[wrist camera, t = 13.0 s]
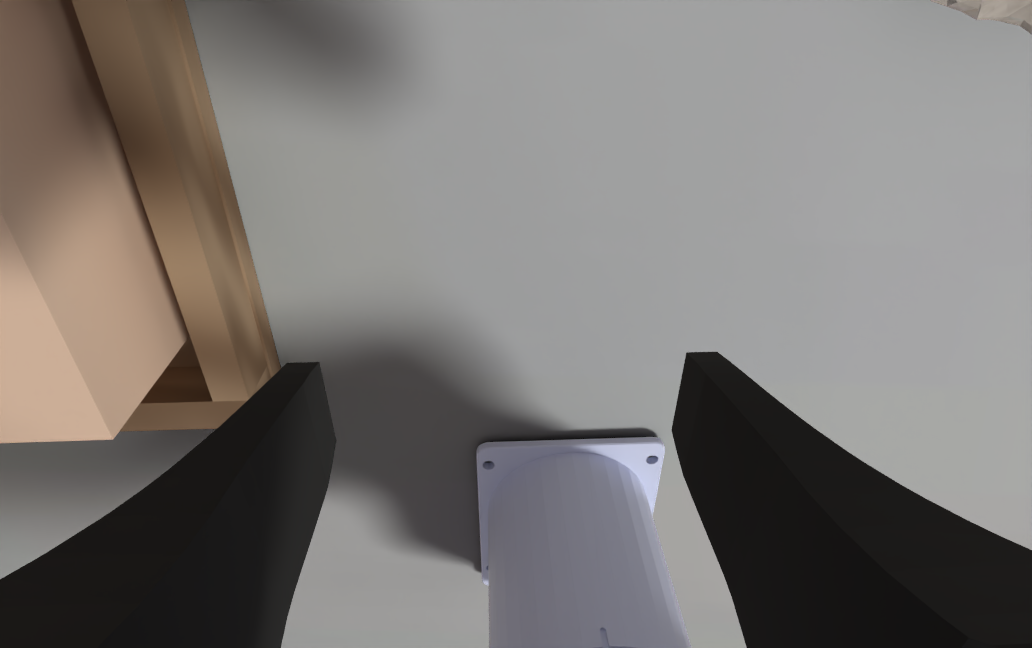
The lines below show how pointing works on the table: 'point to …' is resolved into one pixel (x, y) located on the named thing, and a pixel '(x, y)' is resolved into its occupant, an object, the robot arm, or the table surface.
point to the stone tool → (995, 10)
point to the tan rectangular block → (71, 244)
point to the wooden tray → (183, 210)
